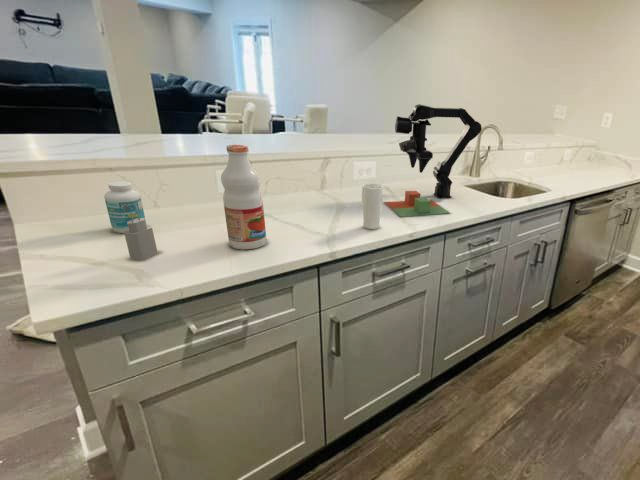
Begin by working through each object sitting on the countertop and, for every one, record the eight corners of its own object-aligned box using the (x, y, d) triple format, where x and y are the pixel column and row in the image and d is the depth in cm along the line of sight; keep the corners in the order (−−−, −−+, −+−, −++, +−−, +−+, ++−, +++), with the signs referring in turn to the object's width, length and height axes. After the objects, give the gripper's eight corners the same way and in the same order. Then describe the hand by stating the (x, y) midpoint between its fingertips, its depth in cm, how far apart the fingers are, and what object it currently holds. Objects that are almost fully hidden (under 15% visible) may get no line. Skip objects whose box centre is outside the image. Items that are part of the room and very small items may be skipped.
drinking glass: (376, 232, 132) (377, 190, 126) (357, 228, 133) (358, 186, 127) (384, 226, 138) (385, 185, 132) (367, 222, 139) (367, 182, 133)
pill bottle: (109, 234, 105) (96, 187, 100) (117, 225, 111) (105, 179, 106) (144, 233, 109) (133, 187, 103) (150, 224, 114) (140, 180, 109)
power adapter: (128, 259, 95) (117, 213, 90) (147, 250, 100) (137, 207, 95) (141, 261, 95) (130, 215, 90) (159, 252, 100) (149, 209, 95)
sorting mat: (431, 200, 174) (431, 199, 174) (449, 213, 161) (449, 212, 161) (384, 202, 163) (384, 202, 162) (400, 217, 149) (400, 216, 149)
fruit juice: (235, 236, 114) (223, 141, 104) (270, 238, 117) (262, 145, 106) (223, 249, 106) (209, 147, 95) (261, 250, 108) (251, 151, 98)
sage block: (425, 208, 161) (425, 197, 159) (430, 212, 157) (431, 201, 155) (414, 209, 158) (414, 198, 156) (418, 213, 155) (419, 201, 153)
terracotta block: (415, 201, 169) (416, 190, 167) (419, 205, 165) (420, 194, 163) (404, 202, 166) (405, 191, 164) (409, 205, 162) (409, 194, 160)
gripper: (393, 130, 171) (392, 165, 177) (410, 137, 157) (408, 175, 163) (416, 131, 177) (414, 165, 183) (434, 139, 163) (431, 175, 169)
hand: (416, 170), depth 174 cm, fingers open, 9 cm apart
